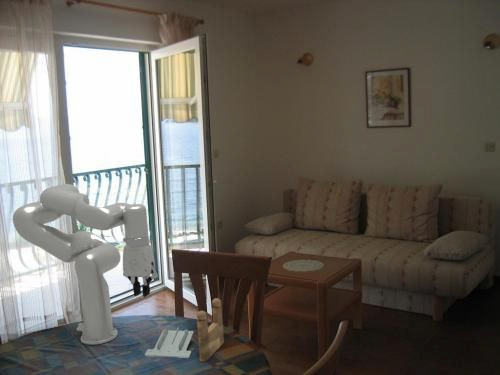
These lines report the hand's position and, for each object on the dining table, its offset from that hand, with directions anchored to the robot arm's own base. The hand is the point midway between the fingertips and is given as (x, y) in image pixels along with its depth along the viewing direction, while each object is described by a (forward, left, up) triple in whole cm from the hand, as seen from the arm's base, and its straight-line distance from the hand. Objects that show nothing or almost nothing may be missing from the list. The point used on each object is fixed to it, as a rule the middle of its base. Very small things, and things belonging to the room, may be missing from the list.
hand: (142, 294), depth 169 cm
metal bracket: (+11, -1, -18) cm, 21 cm away
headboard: (+25, 0, -17) cm, 30 cm away
